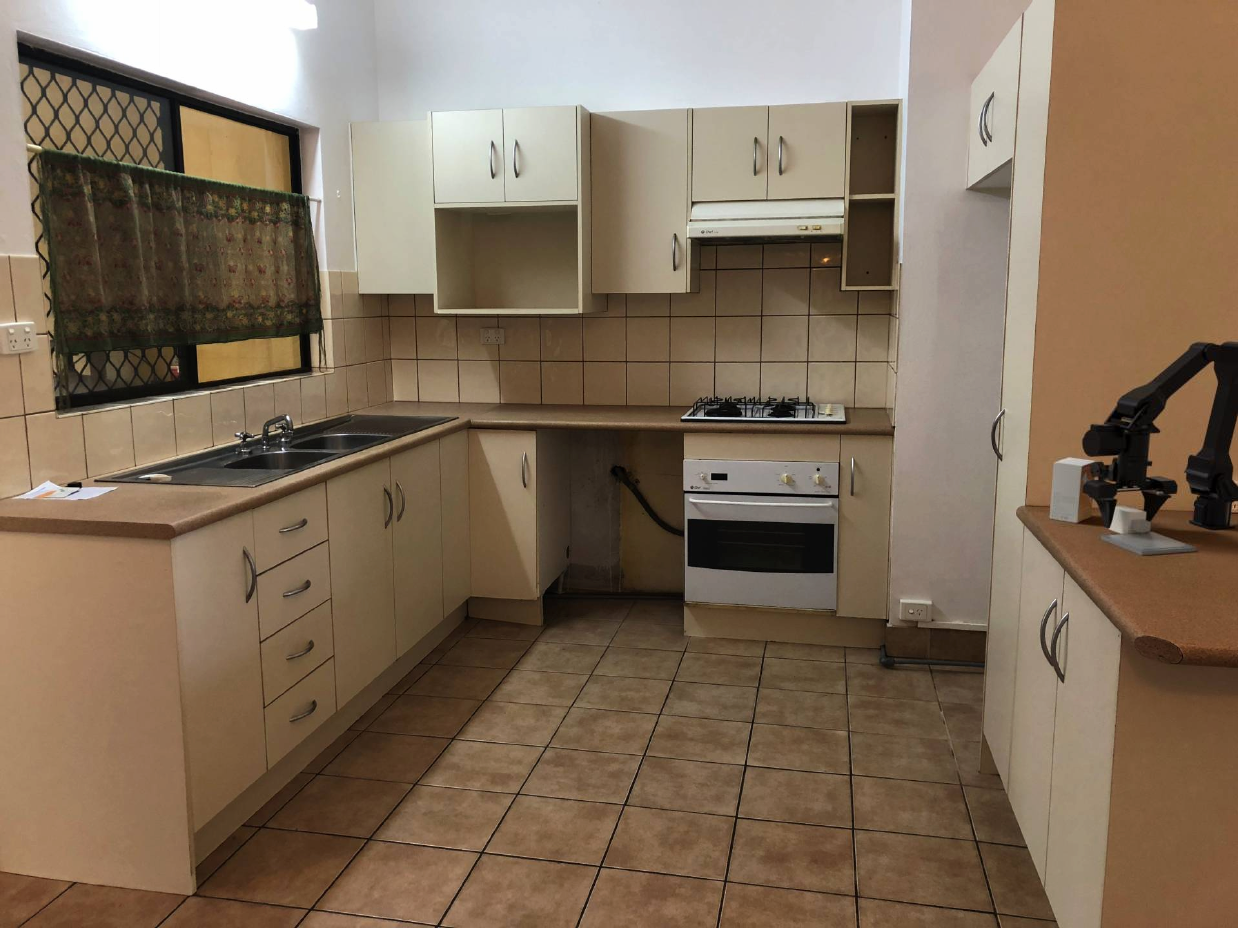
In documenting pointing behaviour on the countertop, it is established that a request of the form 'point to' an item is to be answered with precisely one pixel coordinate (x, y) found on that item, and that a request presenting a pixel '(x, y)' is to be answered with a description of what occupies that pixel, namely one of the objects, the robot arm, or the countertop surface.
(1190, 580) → the countertop surface
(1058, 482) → the small box
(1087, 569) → the countertop surface
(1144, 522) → the connector
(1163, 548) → the plate
